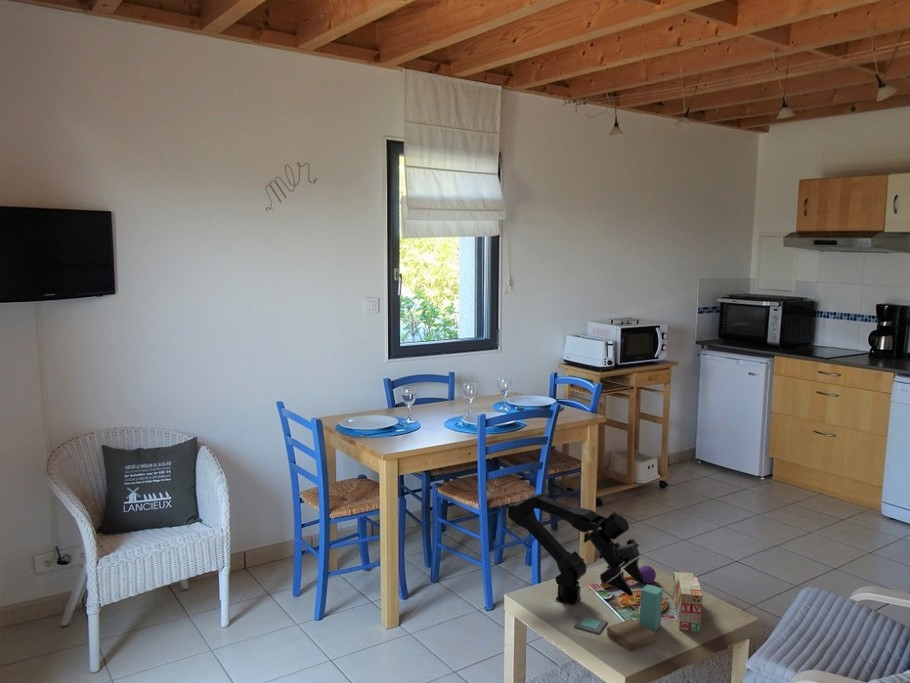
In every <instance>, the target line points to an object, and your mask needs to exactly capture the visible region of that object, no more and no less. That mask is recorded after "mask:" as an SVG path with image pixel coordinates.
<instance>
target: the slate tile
mask: <svg viewBox="0 0 910 683" xmlns="http://www.w3.org/2000/svg"><path fill="white" fill-rule="evenodd" d="M607 624H608V621H607V620H604V619H600V618H597V617H593V616H590V615H585V614H582V615H581V616H580V617H579V619H577V621H576V622H575V624H574V625H573V628H574V629H579V630H580V631H585V632H589V633H592V634H595V635H600V634H601V632H602V631H603V629H604V628H605V626H606V625H607Z"/></svg>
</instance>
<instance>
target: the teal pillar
mask: <svg viewBox="0 0 910 683" xmlns="http://www.w3.org/2000/svg"><path fill="white" fill-rule="evenodd" d="M663 591H664V589H663V588H661V587H659V586H655V585H651V584H649V583H646V585H645V586H644V587H643V588H641V590H640V605H639V606H640V607H639V622H638V623H639V624H641V625H643V626H644V627H646V628H648V629H649V630H651V631H654V633H656V632H657V631H658V629H659V628H660V627H661V626H662V612H663V611H662V609H663V607H662V606H663V593H664V592H663ZM660 625H661V626H660Z"/></svg>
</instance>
